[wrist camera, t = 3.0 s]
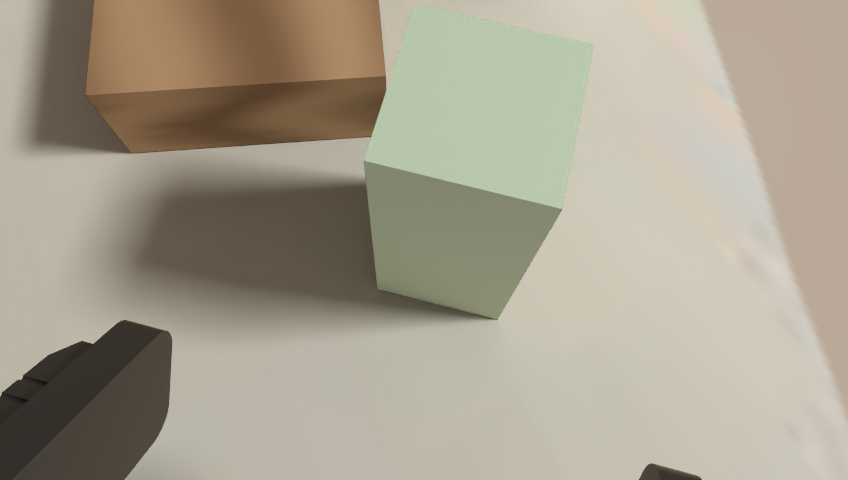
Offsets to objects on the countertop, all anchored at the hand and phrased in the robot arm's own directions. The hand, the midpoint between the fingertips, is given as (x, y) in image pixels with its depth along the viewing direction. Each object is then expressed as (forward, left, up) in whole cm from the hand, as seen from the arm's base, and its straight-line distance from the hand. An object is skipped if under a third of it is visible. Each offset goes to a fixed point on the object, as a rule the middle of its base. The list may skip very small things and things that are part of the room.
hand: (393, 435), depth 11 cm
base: (-4, +17, -12) cm, 21 cm away
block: (+3, +7, -12) cm, 14 cm away
